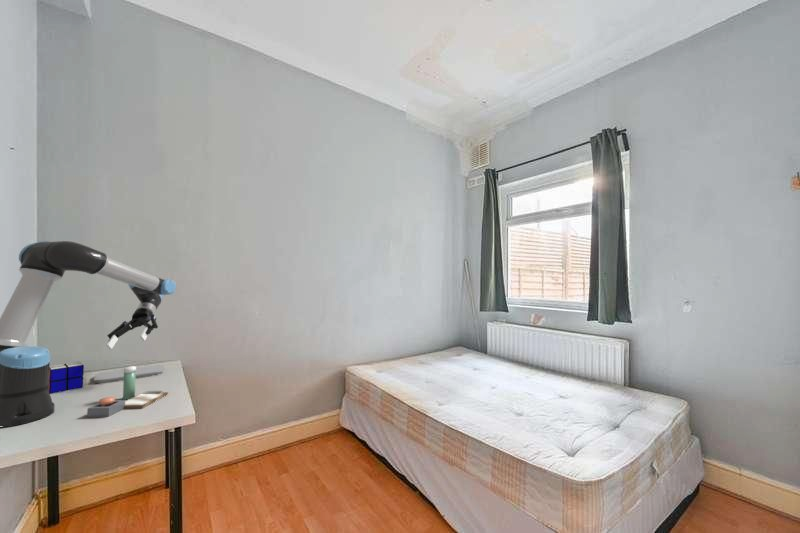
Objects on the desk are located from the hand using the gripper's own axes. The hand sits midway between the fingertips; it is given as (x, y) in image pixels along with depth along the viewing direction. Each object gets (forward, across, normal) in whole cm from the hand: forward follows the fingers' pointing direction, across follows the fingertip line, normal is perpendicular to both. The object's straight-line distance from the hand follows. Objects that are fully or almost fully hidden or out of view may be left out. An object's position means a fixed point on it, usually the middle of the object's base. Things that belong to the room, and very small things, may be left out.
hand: (125, 342), depth 142 cm
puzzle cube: (+7, +27, -11) cm, 30 cm away
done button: (+37, -10, +2) cm, 38 cm away
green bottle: (+26, -7, -8) cm, 28 cm away
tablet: (-4, +12, -24) cm, 27 cm away
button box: (+38, -9, -1) cm, 39 cm away
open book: (+31, -15, -7) cm, 35 cm away
